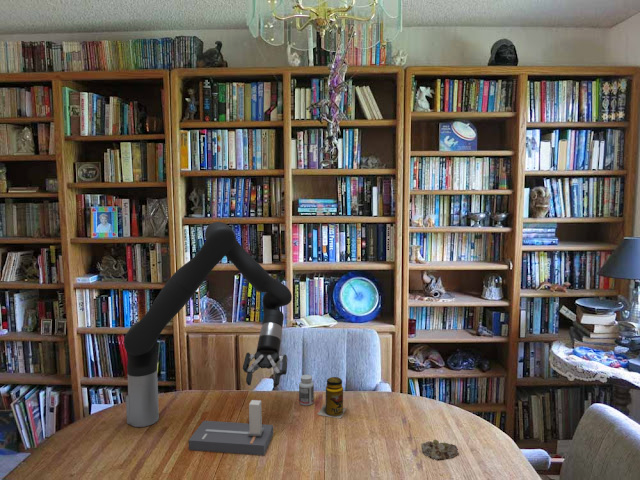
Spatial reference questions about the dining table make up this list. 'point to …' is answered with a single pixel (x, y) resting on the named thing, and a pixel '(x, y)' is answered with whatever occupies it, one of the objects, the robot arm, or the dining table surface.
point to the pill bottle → (306, 390)
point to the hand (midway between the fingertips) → (261, 385)
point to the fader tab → (255, 418)
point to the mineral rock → (439, 450)
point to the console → (230, 438)
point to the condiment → (333, 399)
